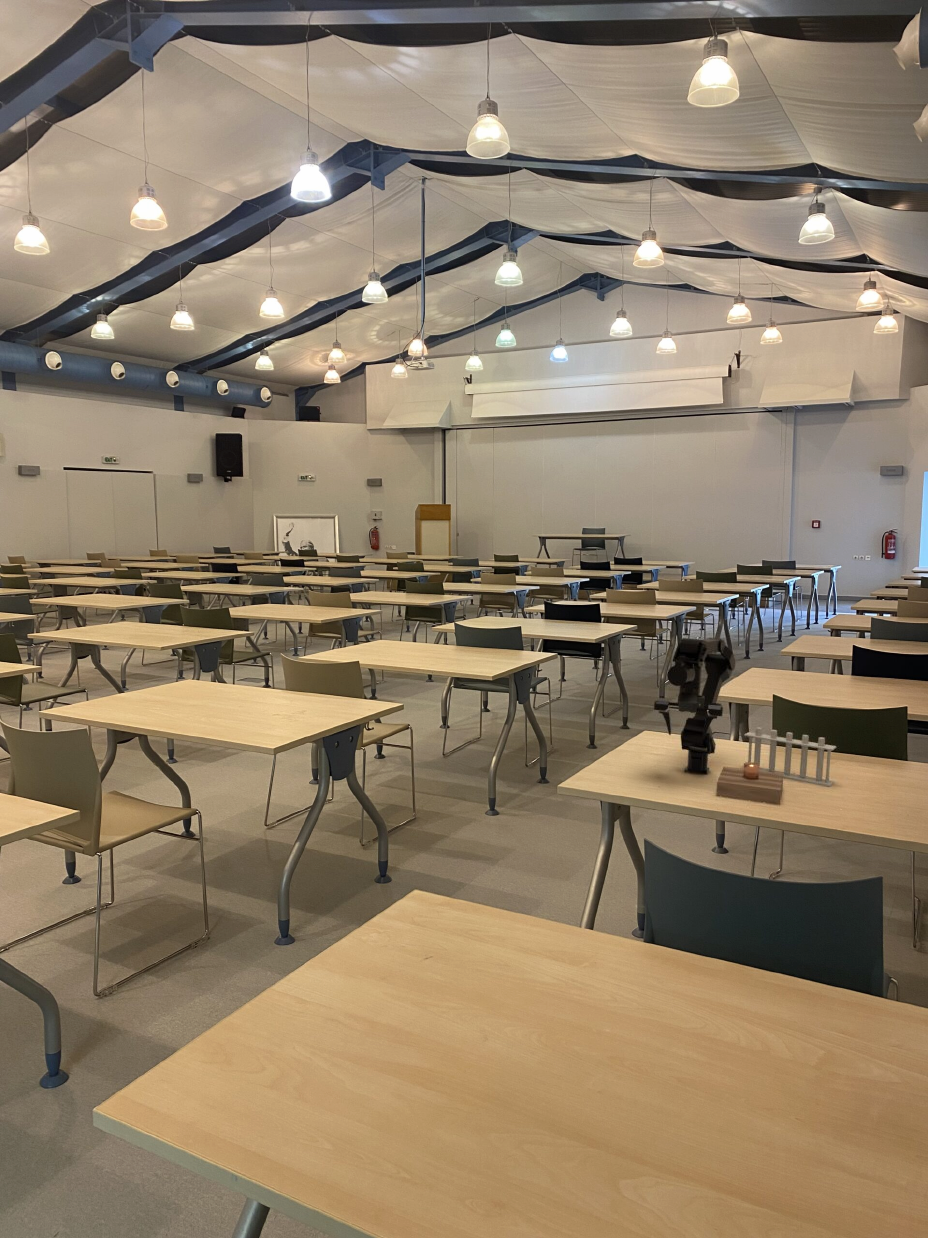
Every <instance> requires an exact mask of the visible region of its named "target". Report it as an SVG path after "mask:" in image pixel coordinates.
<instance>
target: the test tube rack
mask: <svg viewBox="0 0 928 1238" xmlns="http://www.w3.org/2000/svg"><path fill="white" fill-rule="evenodd" d="M762 732H763V727H755V732H751V731H748V732H747V733H744V735H743V736H744V737H748V755H747V757H748V758H747V762H752V750H753V749H752V748H753V747H752V746H753V738H755V739H754V756H753V763H757V764H759V771H764V772H772V773H780V774H783V779H786V780H790V781H796V782H800V783H805V782H806V783H805V784H810V785H811V784H812V785H817V786H822V787H827V788H831V787H832V786H833V785H835V781H834V780H830V767H831V753H832V751H834V750H835V749H837V746H836V745H830V744H825V743H826V740H825V739H826V737H818V740H817V742H813V741H812V742H811V741H809V738H810V737H809V735H807V734H802V736H801V740H800V739H795V738H794V739H793V737H794V736H793V735H794V733H793V732H789V731H788V732H786V734H785V735H786V736H785V737H781V736H778V730H776V729H771V730H770V735H769V734H765V733H764V734H763V733H762ZM762 740H767V741H770V743H769V755H768V756H769V758H768V768H765V767H760V765H761V754H762V753H761V751H762ZM777 742H780V743H785V751H784V754H785V755H784V766H783V767H784V768H783V771H782V770H781V771H780V770H776V758H777V757H776V756H777V755H776V754H777V744H778V743H777ZM793 745H796V746H797V745H798V746H801V752H800V764H799V774H796V773H793V772H792V773H791V769H792V768H791V767H792V765H791V764H792V753H793V750H792V749H793ZM809 747H810V748H814V749H817V755H816V770H815V777H813V776H808V775H807V767H808V754H809V753H808V752H809ZM825 750H826V752H827V753H826V754H827V755H826V756H827V757H826V758H827V759H826V769H825V778H823V774H824V772H823V771H824V761H825V760H824V758H825V757H824V756H825ZM741 769H744V766H743V767H741Z"/></svg>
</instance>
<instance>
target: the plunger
mask: <svg viewBox="0 0 928 1238" xmlns="http://www.w3.org/2000/svg"><path fill="white" fill-rule="evenodd" d="M743 767H744V772H743V777H745V778H748V779H758V778H759V764H757V763H754V762H752V761H751V762H748V761H746V762H744V763H743Z"/></svg>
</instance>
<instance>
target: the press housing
mask: <svg viewBox="0 0 928 1238" xmlns="http://www.w3.org/2000/svg"><path fill="white" fill-rule="evenodd" d="M743 772H744V769H742V768H741V767H740V768H739V767H732V766H722V768H721V772H720V774H719V777H718V779H717V781H716V797H720V796H721V798H727V797H728V798H727V799H729V798H730V799H734V800H741V799H742V800H743V801H749V800H750V802H757V803H763V802H765V804H770V805H777V804H779V805H778V806H780V805H781V799H782V793H783V786H784V778H783V774H780V773H772V772H764V771H759V778H758V779H748V778H745V777H743Z"/></svg>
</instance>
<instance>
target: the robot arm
mask: <svg viewBox="0 0 928 1238" xmlns="http://www.w3.org/2000/svg"><path fill="white" fill-rule="evenodd" d="M672 662H674V665H672V666H671V667H670V668H669V670H668V672H667V674H666V676H667V680H668V681H669V683H670V684H671V685H673V686H675V687H679V688H678V696H677V702H674V701H671V700H670V698H663V697H657V698H655V701H654V704H653V710H655V711H658V714H662V717H663V718H664V721H665V725H666V728H667V732H668V736H672V720H671V719H672V718H671V709H675V710H678V712H681V713H684V712H685V713H691V714H694V716H692V717H687V719H686V720H685V724H684V726H683V729H682V730H681V733H680V743H681V744H680V745H681V750H683V751H684V750H685V751H687V765H686V766H685V768H684V773H692V774H699V775H708V773H709V772H710V766H709V767H708V763H709V761H708V760H709V755H711V754H712V755H713V754H715V752H716V751H715V750H716V745H717V744H716V742H715V739H714V736H713V731H712V730H713V729H712V727H711V723H712V722H713V720H714V719H715V720H716V719H718V717H723V709H724V706H723V704H722V703H719V702H717V701H718V698H719V695H720V691H721V689H722V685H723V683H724V682H726V681H727V680H729V678H731V676H732V673H733V671H734V670H735V668H736V659H735V655H734V652H733V650H731V649H730V648H729V647H728V646H727V645H726V642H725V640H724V639H722V638H716V637H708V638H705V639H699V638H688V637H682V638H681V639H680V641H679V642H678V643H677V646H676V649H675V652H674V655H673V657H672ZM703 663H704V664H703ZM703 666H704V670H705V671H706V680H705V683H704V686H703V688H702V691H701V683H702V681H701V680H702V667H703Z"/></svg>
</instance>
